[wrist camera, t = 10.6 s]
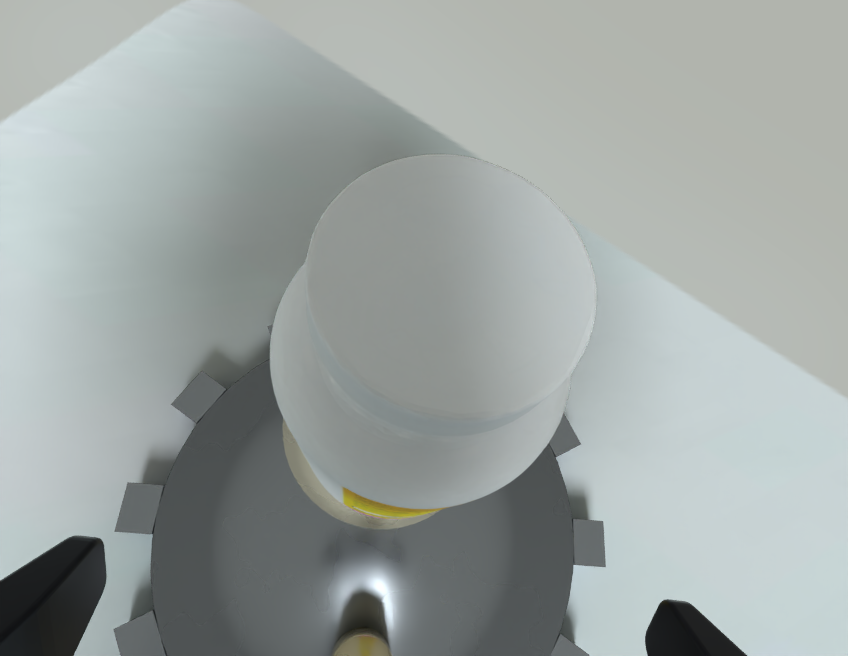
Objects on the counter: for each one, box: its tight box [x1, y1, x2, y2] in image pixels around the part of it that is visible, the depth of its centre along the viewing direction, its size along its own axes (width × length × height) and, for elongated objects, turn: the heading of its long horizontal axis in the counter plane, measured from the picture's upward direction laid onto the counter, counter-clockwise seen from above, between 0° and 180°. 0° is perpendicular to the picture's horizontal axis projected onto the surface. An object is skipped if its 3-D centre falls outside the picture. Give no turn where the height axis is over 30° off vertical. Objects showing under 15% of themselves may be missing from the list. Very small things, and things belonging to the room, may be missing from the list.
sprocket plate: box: [114, 325, 606, 656], centre depth 19 cm, size 17×17×3 cm
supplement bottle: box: [270, 154, 597, 519], centre depth 14 cm, size 7×7×13 cm
